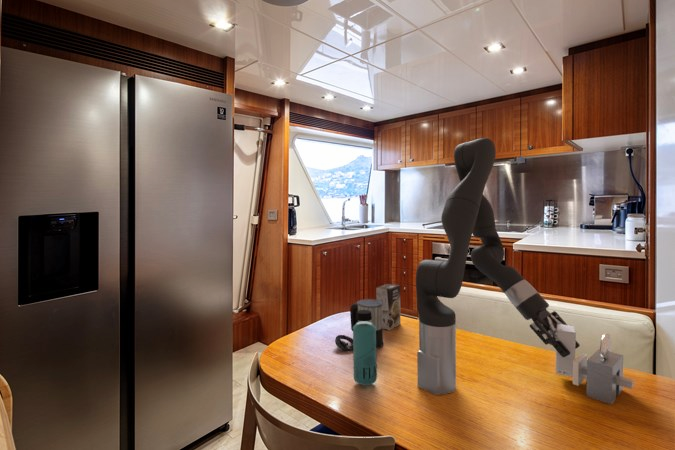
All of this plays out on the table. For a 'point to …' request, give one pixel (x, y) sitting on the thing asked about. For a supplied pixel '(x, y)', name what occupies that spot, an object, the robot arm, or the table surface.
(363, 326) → the beverage bottle
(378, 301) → the milk frother
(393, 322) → the coffee box
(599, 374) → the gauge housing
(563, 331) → the skincare box
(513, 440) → the table surface
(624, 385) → the gauge plunger
